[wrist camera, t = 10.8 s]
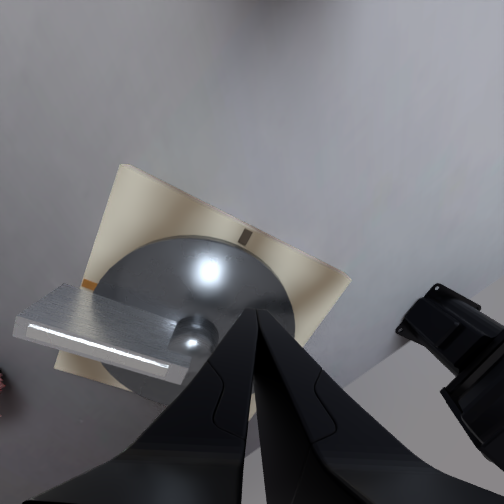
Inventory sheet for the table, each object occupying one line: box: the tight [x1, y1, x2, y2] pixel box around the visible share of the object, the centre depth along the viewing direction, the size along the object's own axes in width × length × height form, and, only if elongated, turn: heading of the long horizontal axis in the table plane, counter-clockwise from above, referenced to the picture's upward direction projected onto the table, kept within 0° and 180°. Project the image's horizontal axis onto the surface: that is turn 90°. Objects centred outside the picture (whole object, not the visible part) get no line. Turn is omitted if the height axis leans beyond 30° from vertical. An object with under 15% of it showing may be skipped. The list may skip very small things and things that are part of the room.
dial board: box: [54, 164, 352, 422], centre depth 22 cm, size 20×20×2 cm
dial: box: [13, 235, 295, 405], centre depth 18 cm, size 19×17×5 cm
